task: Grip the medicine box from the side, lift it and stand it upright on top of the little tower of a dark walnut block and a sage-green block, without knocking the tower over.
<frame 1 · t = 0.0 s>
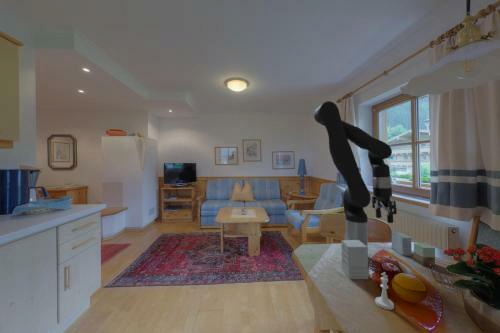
hand: (384, 220, 96), 17 cm above the table, tool pointing down, fingers open, 8 cm apart
chess piece: (384, 304, 63), on the table
tower top block: (424, 254, 88), point 4 cm above the table, touching tower base block
supplement box: (354, 274, 80), on the table
tower base block: (424, 263, 88), on the table, touching tower top block
medicine box: (401, 252, 99), on the table
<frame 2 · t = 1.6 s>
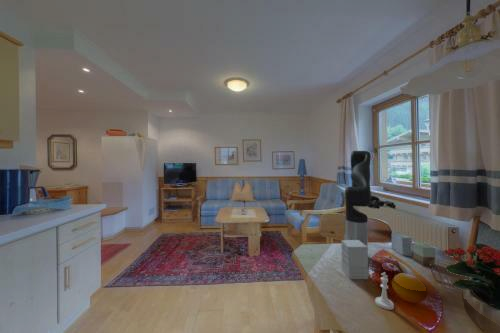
hand: (386, 206, 110), 20 cm above the table, tool horizontal, fingers open, 8 cm apart
nothing on the table moved.
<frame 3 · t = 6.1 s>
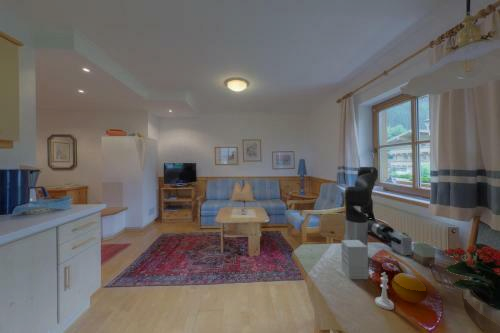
hand: (405, 242, 97), 6 cm above the table, tool horizontal, fingers closed on medicine box, 4 cm apart
medicine box: (401, 252, 99), on the table, touching gripper
everything else where it was.
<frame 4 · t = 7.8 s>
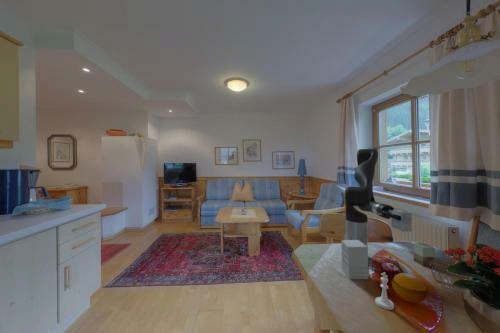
hand: (405, 218, 96), 18 cm above the table, tool horizontal, fingers closed on medicine box, 4 cm apart
medicine box: (401, 229, 99), point 11 cm above the table, touching gripper
everything else where it was.
when the fingers open (15 cm above the table, at t = 9.7 s): medicine box moves 1 cm, resting on tower top block.
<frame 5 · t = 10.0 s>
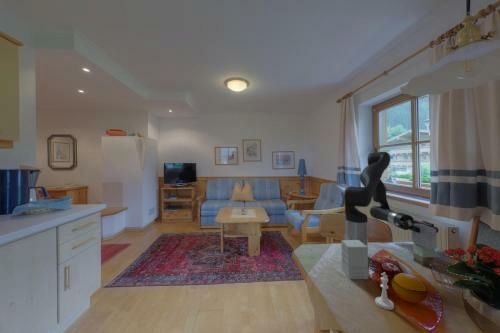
hand: (428, 230, 86), 15 cm above the table, tool horizontal, fingers open, 7 cm apart
tower top block: (423, 254, 88), point 4 cm above the table, touching medicine box, tower base block
medicine box: (423, 246, 88), point 8 cm above the table, touching tower top block
everything else where it was.
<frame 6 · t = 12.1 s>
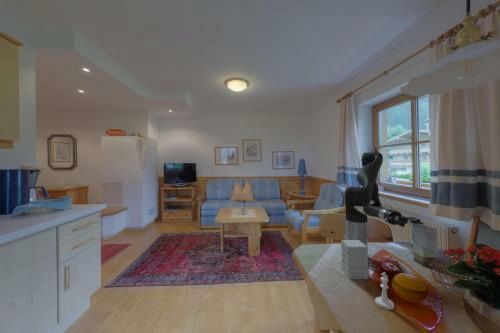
hand: (413, 224, 94), 15 cm above the table, tool horizontal, fingers open, 8 cm apart
nothing on the table moved.
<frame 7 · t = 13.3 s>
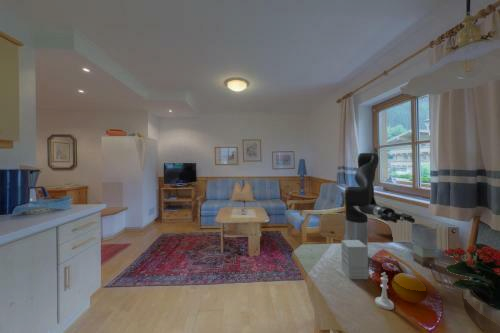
hand: (405, 220, 99), 16 cm above the table, tool horizontal, fingers open, 8 cm apart
nothing on the table moved.
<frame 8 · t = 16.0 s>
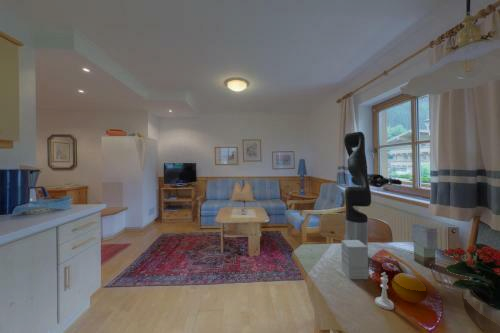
hand: (392, 182, 105), 34 cm above the table, tool horizontal, fingers open, 8 cm apart
nothing on the table moved.
at the end: medicine box 0.1 cm off-centre on the tower top block, point 3.8 cm above the tower top block's base; medicine box tilted 0°; tower top block 0.1 cm off-centre on the tower base block, point 4.0 cm above the tower base block's base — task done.
